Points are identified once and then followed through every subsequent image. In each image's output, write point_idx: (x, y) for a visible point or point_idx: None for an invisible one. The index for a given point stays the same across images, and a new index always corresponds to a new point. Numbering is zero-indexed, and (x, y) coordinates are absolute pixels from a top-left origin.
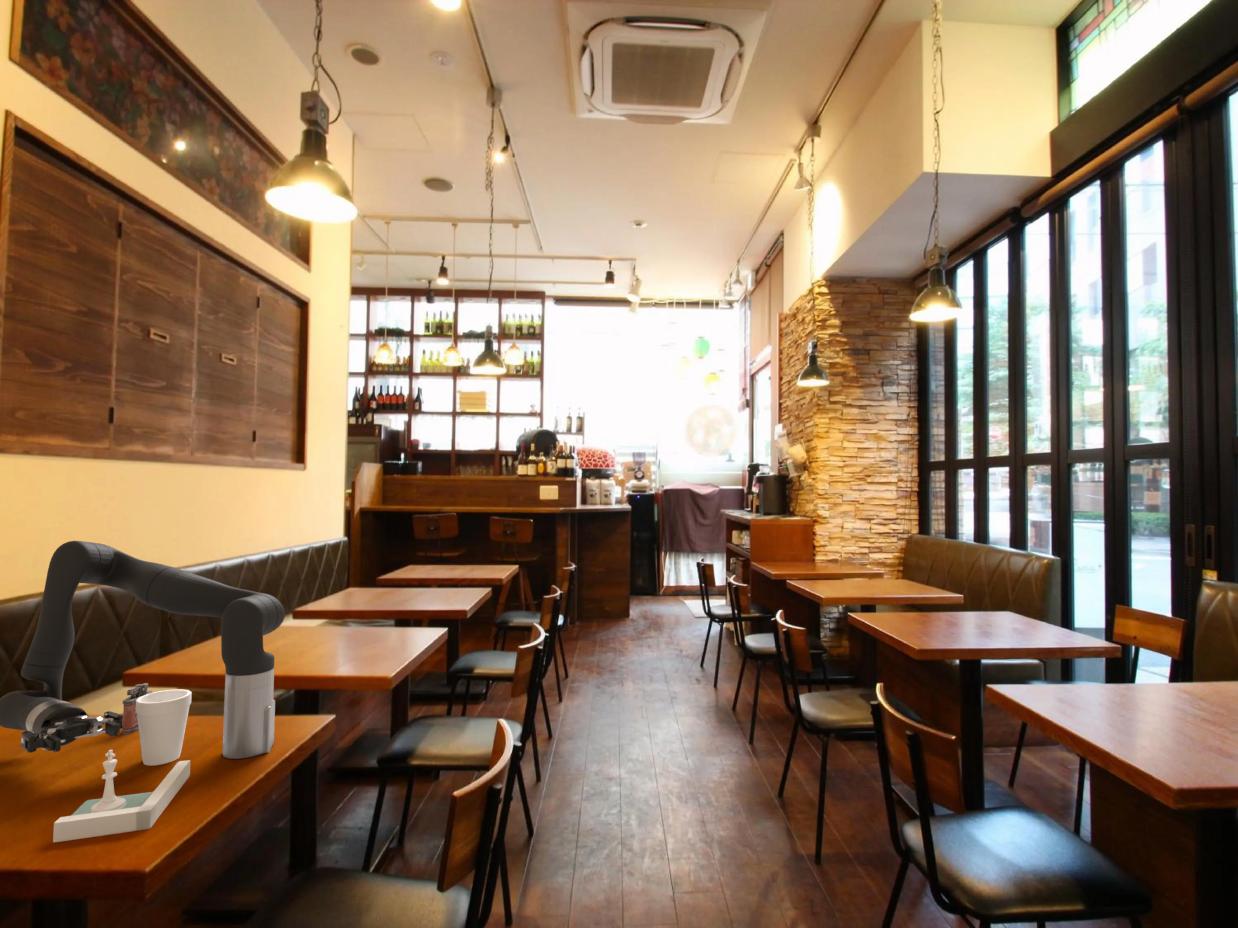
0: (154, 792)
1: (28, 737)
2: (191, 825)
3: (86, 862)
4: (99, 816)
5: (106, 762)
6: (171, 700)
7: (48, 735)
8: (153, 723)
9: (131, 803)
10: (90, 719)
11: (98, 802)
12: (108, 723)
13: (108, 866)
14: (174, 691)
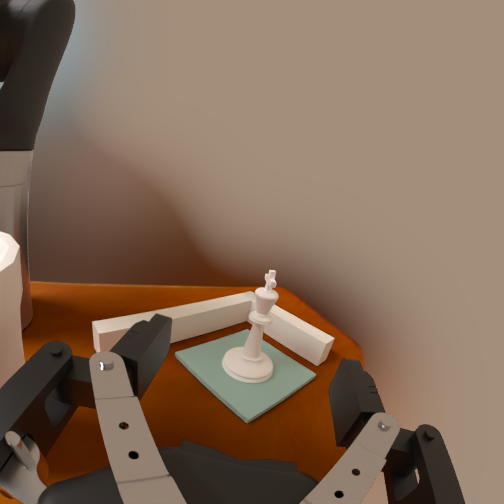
0: (218, 307)
1: (442, 449)
2: (222, 291)
3: (311, 315)
4: (292, 316)
5: (275, 291)
6: (4, 235)
7: (379, 414)
8: (19, 331)
9: (219, 352)
10: (148, 430)
11: (258, 369)
12: (150, 345)
13: (300, 302)
14: None
